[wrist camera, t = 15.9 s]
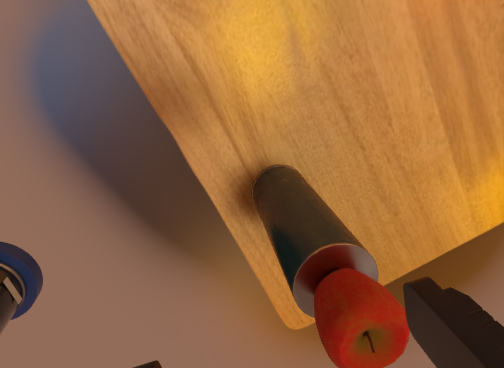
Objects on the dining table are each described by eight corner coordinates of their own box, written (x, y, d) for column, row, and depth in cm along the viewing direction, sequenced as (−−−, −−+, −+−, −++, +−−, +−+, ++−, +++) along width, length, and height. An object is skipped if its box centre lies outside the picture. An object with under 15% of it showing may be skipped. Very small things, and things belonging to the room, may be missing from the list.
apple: (330, 239, 30) (372, 298, 23) (384, 270, 32) (439, 332, 25) (286, 297, 31) (313, 369, 24) (340, 323, 33) (381, 397, 26)
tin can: (258, 222, 53) (301, 331, 32) (245, 173, 50) (283, 259, 30) (309, 207, 53) (383, 305, 33) (299, 158, 50) (373, 232, 30)
